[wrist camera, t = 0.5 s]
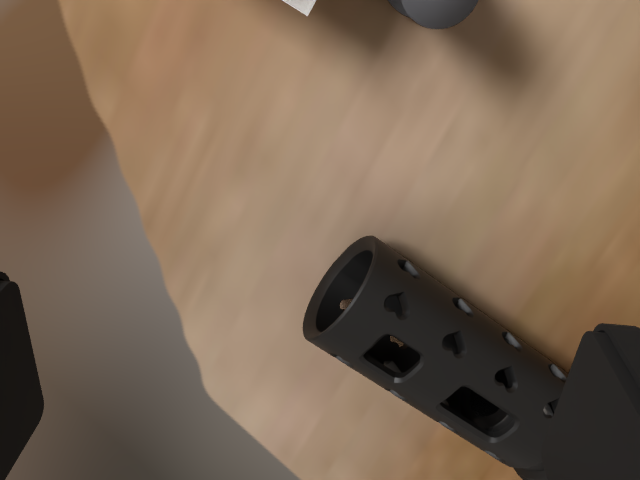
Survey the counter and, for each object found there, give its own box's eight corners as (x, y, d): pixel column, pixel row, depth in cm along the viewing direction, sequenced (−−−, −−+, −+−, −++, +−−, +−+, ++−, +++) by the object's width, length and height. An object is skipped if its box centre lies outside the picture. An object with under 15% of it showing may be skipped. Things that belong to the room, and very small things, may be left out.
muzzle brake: (379, 205, 46) (379, 281, 37) (623, 382, 53) (673, 482, 44) (307, 283, 50) (292, 368, 41) (541, 438, 57) (572, 539, 48)
